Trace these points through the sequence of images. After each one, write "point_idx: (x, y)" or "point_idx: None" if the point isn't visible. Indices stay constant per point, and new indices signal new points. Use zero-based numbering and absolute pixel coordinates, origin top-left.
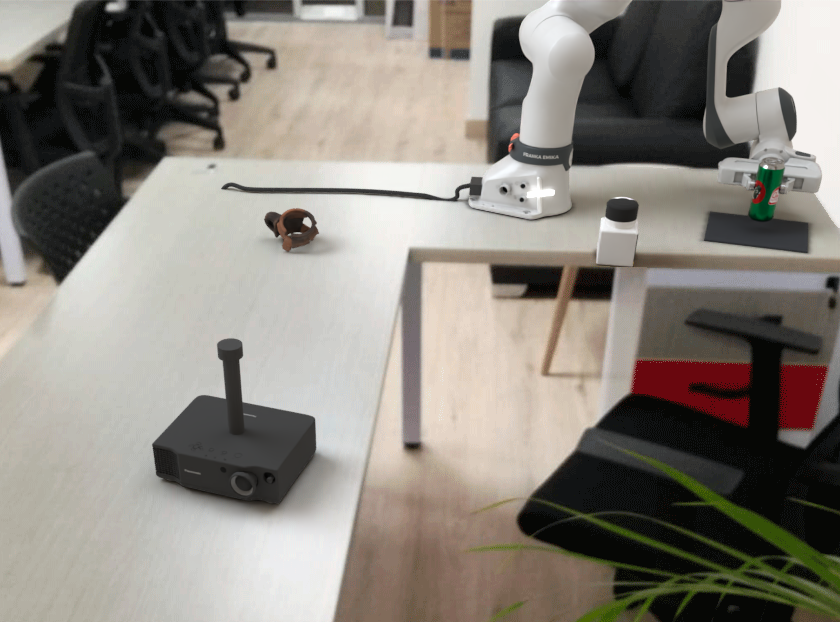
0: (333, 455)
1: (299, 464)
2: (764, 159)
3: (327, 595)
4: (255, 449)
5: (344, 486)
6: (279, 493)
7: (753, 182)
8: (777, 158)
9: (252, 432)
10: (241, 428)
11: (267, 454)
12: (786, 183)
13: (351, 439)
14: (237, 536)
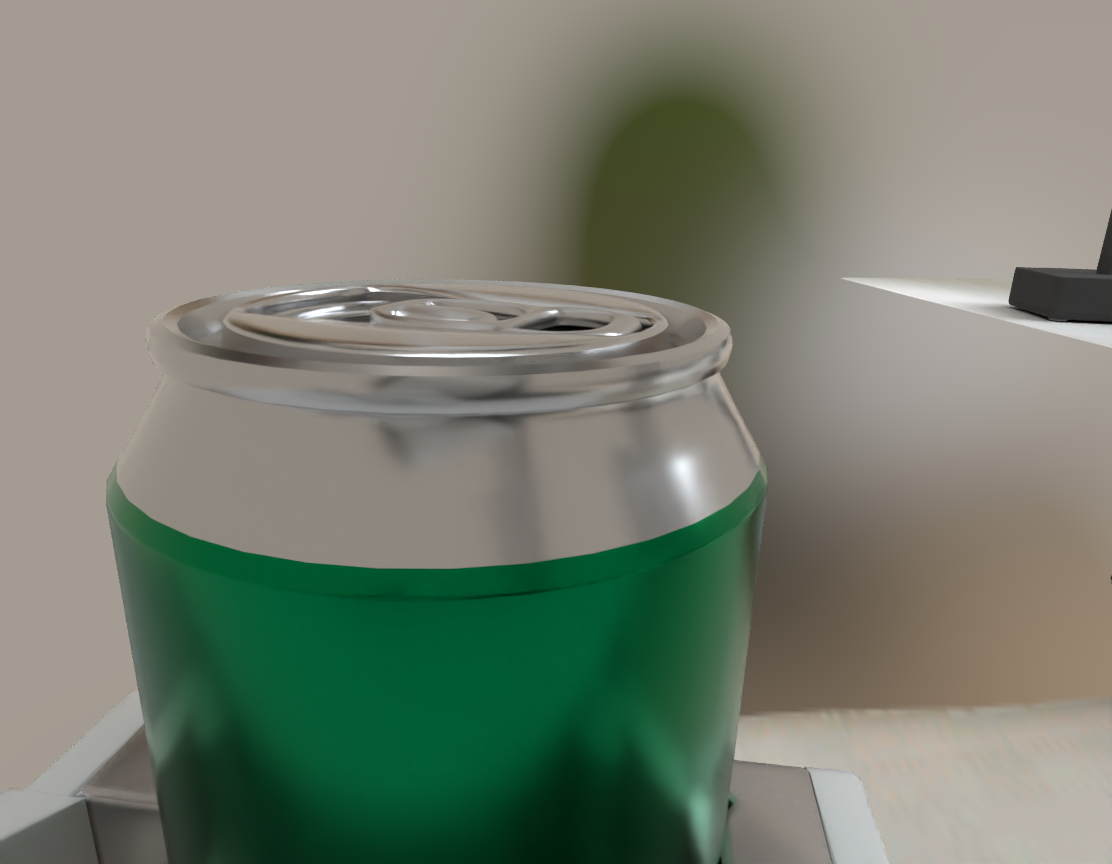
0: (1032, 321)
1: (1031, 297)
2: (663, 381)
3: (897, 292)
4: (1060, 270)
5: (981, 312)
6: (1010, 293)
7: (748, 766)
8: (243, 356)
9: (1088, 273)
10: (1097, 267)
11: (1043, 269)
12: (90, 771)
13: (1041, 326)
14: (1004, 301)
